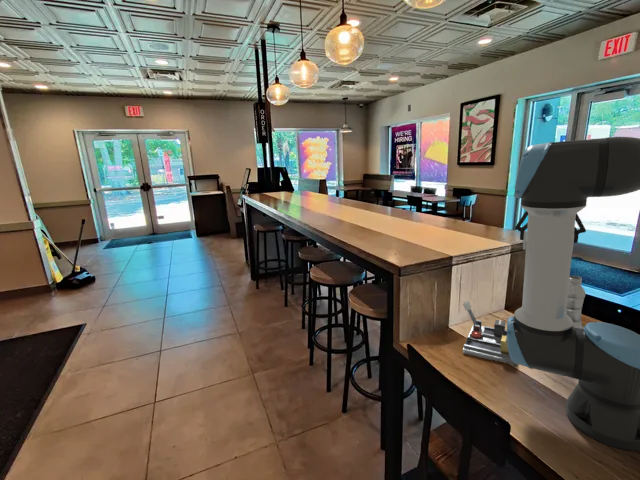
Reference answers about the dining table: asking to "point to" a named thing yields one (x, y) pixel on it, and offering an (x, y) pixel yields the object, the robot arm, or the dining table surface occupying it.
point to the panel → (485, 344)
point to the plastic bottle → (575, 300)
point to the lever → (470, 311)
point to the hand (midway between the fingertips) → (546, 250)
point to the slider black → (499, 328)
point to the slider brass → (504, 345)
